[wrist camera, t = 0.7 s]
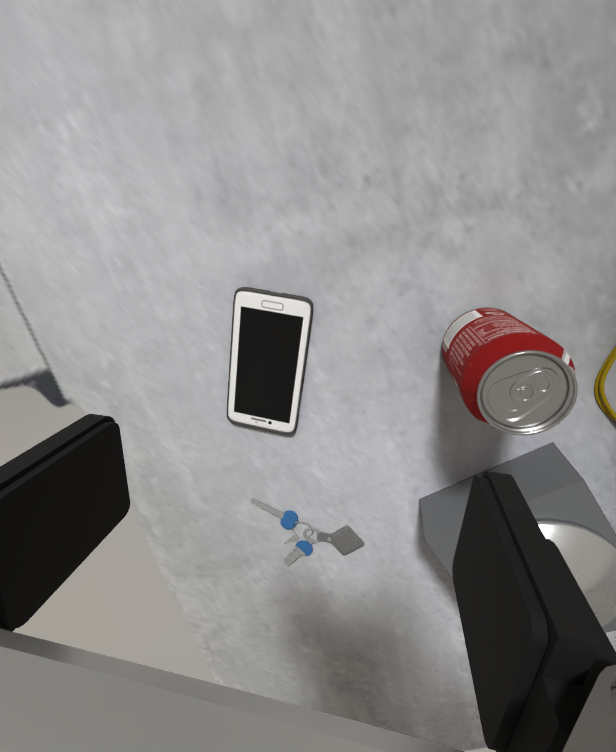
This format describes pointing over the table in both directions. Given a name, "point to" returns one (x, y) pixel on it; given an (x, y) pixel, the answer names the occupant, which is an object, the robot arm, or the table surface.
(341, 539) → the key chain
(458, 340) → the soda can
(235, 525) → the table surface
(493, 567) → the robot arm
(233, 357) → the cell phone
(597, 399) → the extension cord
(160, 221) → the table surface
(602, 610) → the scale pan
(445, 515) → the scale
